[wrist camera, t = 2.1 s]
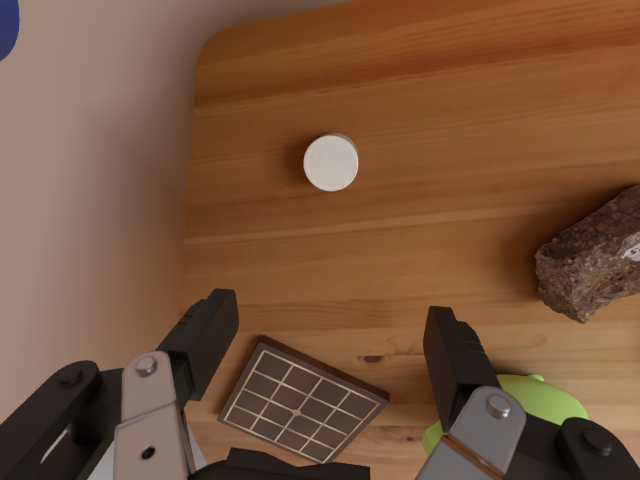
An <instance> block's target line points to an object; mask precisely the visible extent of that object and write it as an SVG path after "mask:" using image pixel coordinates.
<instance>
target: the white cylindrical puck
mask: <svg viewBox="0 0 640 480" xmlns="http://www.w3.org/2000/svg"><path fill="white" fill-rule="evenodd" d="M358 163H359V155H358V151H357V148H356V146H355V144H354V143H353V142H352V140H351V139H349V138H348V137H347V136H345V135H343V134H340V133H335V132H331V133H326V134H323V135H321V136H319V137H318V138H317V139H316V140H315V141H313V142H312V143H311V144H310V146H309V147H308V148H307V150H306V153H305V155H304V161H303V164H304V171H305V174H306V176H307V178H308V179H309V180H310V182H311V183H312V184H313V185H315V186H316V187H318V188H320V189H322V190H325V191H337V190H340V189H343V188H345V187H346V186H348V185H349V184H350V183H351V182H352V181H353V179H354V178H355V176H356V174H357V170H358Z"/></svg>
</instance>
